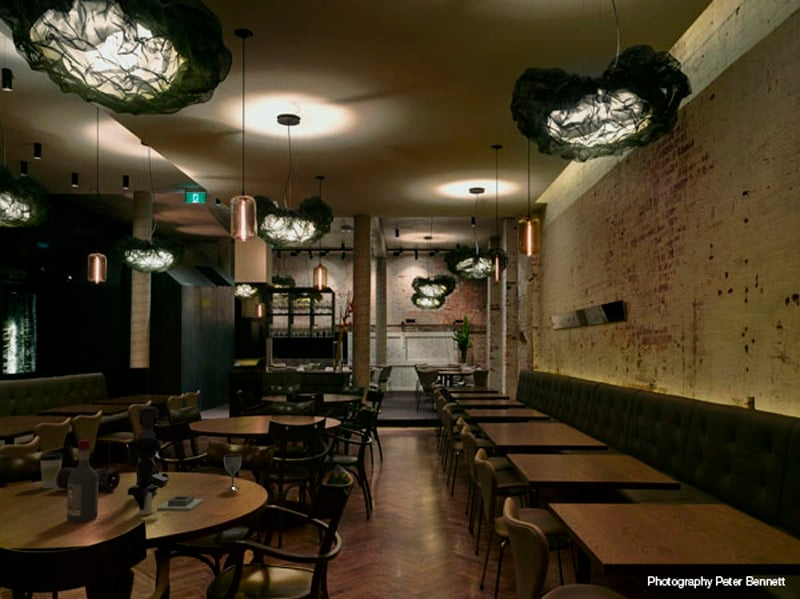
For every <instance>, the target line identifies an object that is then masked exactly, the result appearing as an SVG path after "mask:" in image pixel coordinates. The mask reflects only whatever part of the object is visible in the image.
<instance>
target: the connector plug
mask: <svg viewBox="0 0 800 599" xmlns="http://www.w3.org/2000/svg"><path fill="white" fill-rule="evenodd" d="M147 492H149V491H147ZM152 502H153V498H152V493H149V494H148V495H147V496H146V498H145V505H144V510H140V508H139V507H138V515H149V514H150V513H152V509H153V508H152V507H153V506H152V504H153V503H152Z"/></svg>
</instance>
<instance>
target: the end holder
mask: <svg viewBox="0 0 800 599" xmlns="http://www.w3.org/2000/svg"><path fill="white" fill-rule="evenodd" d="M194 497H195V496H194V495H175V496H174V497H171V498H170V499H169V500H167V501H166V502H164V503H162V504H161V505H159V506H157V507H156V510H157V511H192V510H194V509H195V508H196V507H198V506H200V505H201V504H202V503H204V502H203V501H205V499H204V498H194ZM200 503H201V504H200ZM193 508H194V509H193Z"/></svg>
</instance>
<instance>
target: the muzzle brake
mask: <svg viewBox="0 0 800 599" xmlns="http://www.w3.org/2000/svg"><path fill="white" fill-rule="evenodd" d="M75 469H76V467H63V468H61V469H60V470H58V471H57V473H56V474H55V477H54V483H55V485H56V486H57V487H56V488H59V489H61V490H68V478H69V475H70V474H71V473H72V472H73V471H74V470H75ZM93 469H94V468H93ZM94 470H95V471H96V472H97V474H98V476H99V479H98V493H114V491H115V490H116V489H117V488H118V486H119V484H120V480H121V475H120V472H119V471H118V470H116V469H97V468H96V469H94Z"/></svg>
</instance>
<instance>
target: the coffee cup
mask: <svg viewBox="0 0 800 599" xmlns="http://www.w3.org/2000/svg"><path fill="white" fill-rule="evenodd" d="M63 459H64V456H63V454H62V452H61V453H60V452H53V453H52V452H51V453H45V454H41V456H40V458H39V461H40V473H41V480H42V489H53V488H54V489H55V488H58V487H57V486H56V485H55V483H54V477H55V474H56V473H57V471H58V470H60V469H62V466H63V465H62V462H63Z"/></svg>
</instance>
